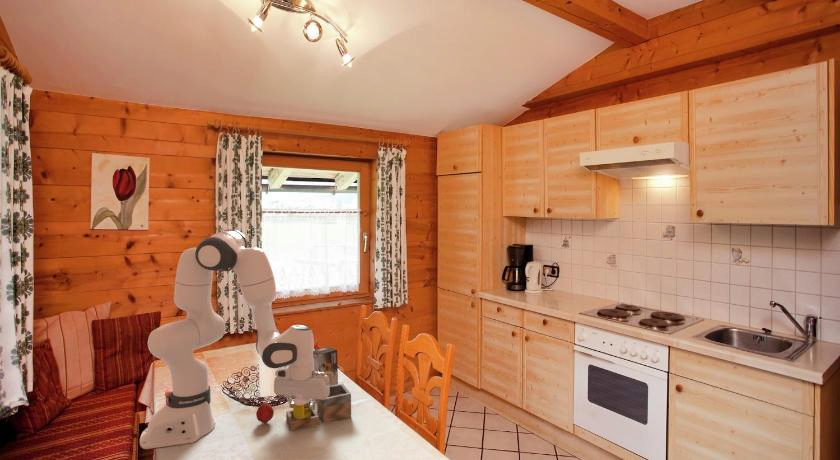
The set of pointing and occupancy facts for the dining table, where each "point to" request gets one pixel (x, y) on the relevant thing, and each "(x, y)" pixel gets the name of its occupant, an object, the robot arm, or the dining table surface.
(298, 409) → the pill bottle
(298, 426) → the stepped holder
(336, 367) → the coffee box
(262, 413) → the onion
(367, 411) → the dining table surface
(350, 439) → the dining table surface
